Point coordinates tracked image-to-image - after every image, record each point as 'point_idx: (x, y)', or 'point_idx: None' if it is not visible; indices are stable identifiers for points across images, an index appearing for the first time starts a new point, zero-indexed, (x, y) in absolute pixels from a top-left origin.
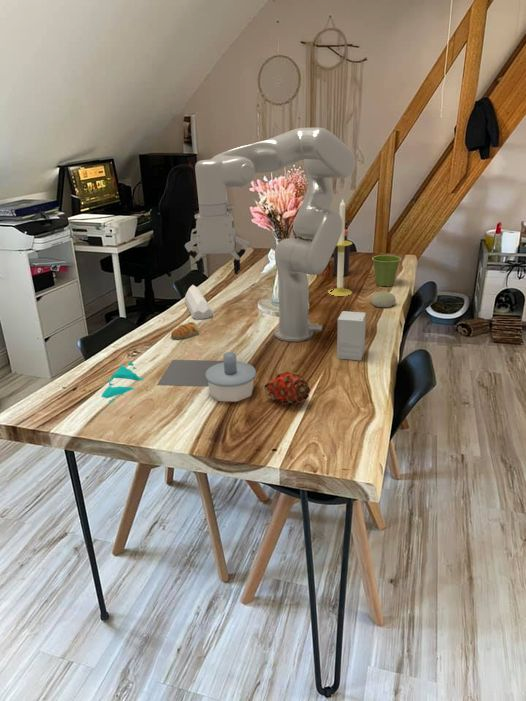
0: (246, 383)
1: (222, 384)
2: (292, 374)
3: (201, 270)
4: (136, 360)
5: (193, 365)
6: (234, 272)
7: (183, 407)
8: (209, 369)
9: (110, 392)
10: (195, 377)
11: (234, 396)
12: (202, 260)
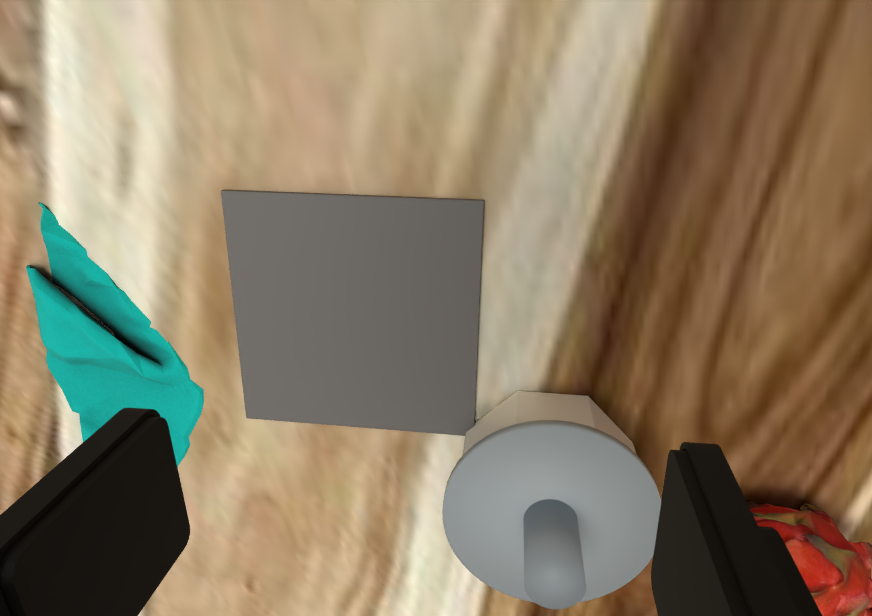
0: None
1: (526, 598)
2: (835, 591)
3: (152, 586)
4: (55, 185)
5: (339, 253)
6: (655, 599)
7: (391, 547)
8: (453, 493)
9: None
10: (379, 364)
11: None
12: (40, 600)
